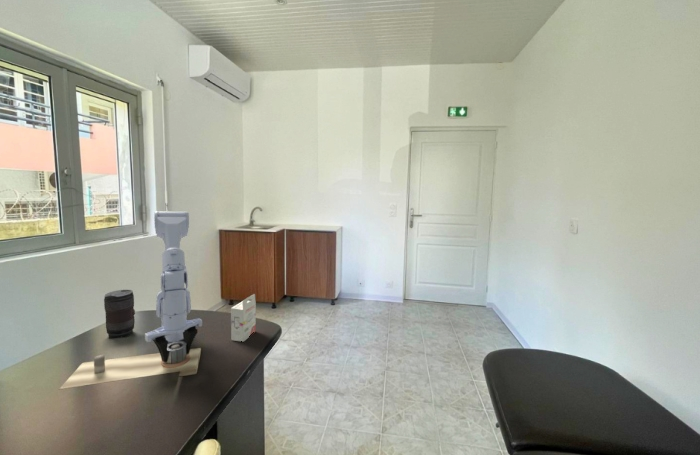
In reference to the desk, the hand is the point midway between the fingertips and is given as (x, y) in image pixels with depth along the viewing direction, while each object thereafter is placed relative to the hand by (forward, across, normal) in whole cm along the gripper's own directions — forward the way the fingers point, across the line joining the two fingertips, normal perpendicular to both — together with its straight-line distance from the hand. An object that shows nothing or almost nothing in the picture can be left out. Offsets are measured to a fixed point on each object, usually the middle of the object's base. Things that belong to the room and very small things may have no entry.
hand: (175, 356), depth 87 cm
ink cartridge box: (+3, +24, +3) cm, 24 cm away
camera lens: (+3, -5, +33) cm, 34 cm away
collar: (+1, 0, 0) cm, 1 cm away
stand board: (+3, -8, +4) cm, 9 cm away
